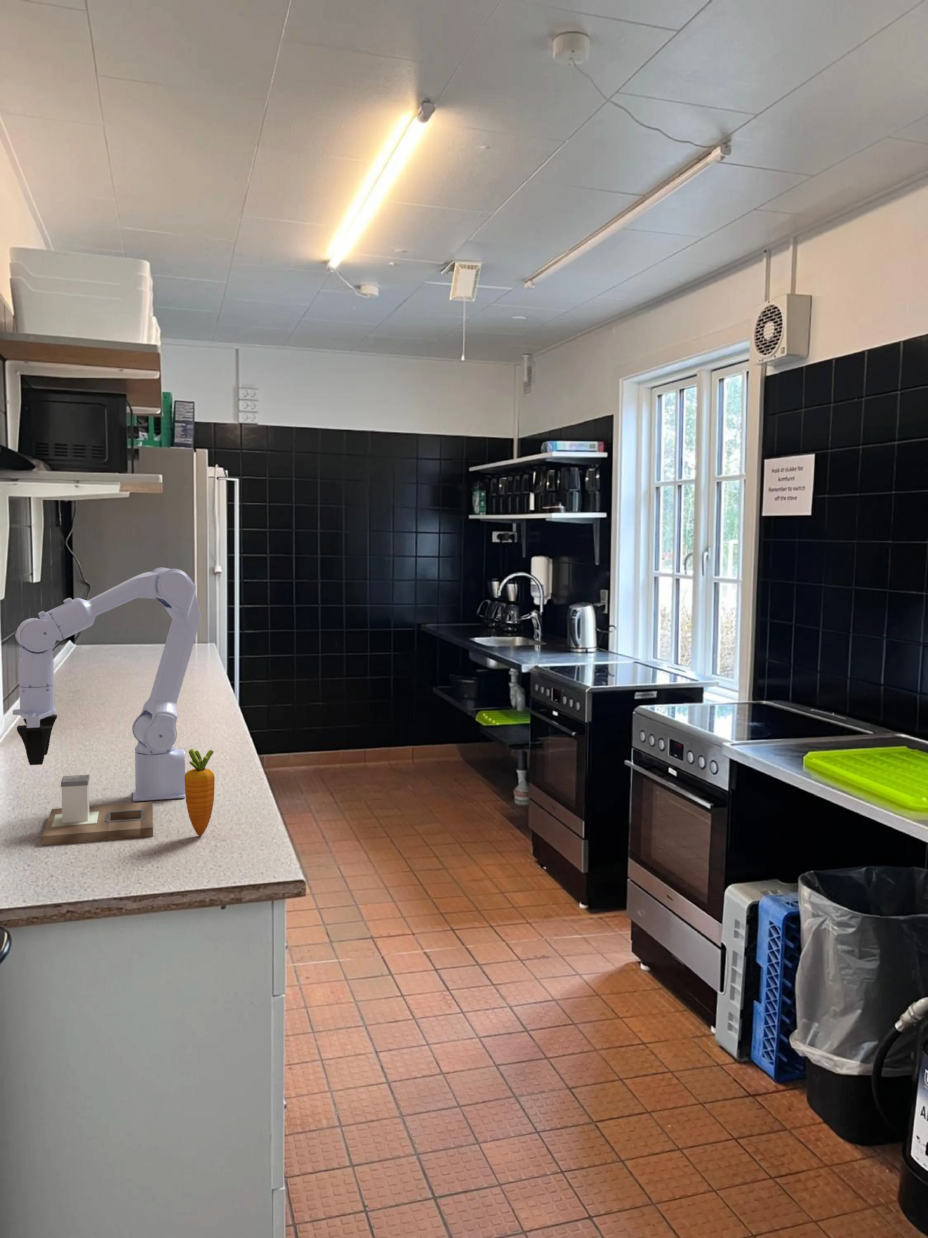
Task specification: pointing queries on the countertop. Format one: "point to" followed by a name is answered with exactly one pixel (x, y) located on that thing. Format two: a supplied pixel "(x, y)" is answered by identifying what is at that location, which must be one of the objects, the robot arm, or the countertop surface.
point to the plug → (75, 798)
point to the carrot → (199, 791)
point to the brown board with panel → (101, 824)
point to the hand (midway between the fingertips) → (38, 759)
